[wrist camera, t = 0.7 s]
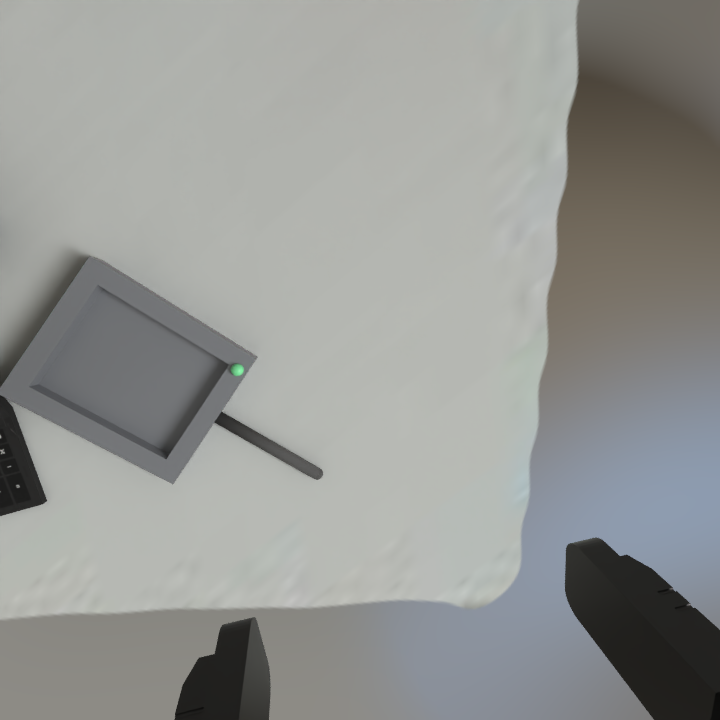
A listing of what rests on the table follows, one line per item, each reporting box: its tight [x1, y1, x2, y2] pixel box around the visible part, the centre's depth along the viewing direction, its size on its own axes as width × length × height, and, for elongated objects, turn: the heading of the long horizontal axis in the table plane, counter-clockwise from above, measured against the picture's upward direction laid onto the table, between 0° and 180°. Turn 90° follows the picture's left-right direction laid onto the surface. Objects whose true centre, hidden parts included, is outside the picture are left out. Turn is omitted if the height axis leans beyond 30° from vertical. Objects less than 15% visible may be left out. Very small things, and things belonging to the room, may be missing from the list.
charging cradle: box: [0, 256, 323, 484], centre depth 32 cm, size 24×12×3 cm, turn 56°
